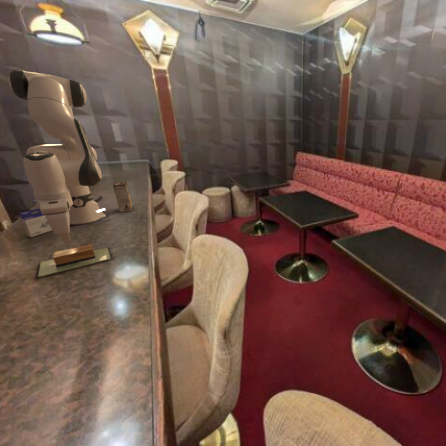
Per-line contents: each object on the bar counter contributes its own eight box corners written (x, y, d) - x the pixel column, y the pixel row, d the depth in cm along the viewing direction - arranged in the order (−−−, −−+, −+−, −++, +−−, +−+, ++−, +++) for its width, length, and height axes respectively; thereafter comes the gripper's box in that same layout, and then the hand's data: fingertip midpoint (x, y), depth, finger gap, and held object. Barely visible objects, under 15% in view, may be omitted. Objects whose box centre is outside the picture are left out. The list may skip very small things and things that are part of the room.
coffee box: (120, 207, 152) (113, 182, 146) (132, 206, 155) (126, 181, 149) (119, 212, 145) (112, 185, 139) (132, 210, 148) (126, 184, 142)
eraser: (57, 261, 92) (53, 252, 90) (94, 253, 99) (91, 244, 97) (56, 267, 88) (53, 257, 87) (95, 258, 95) (92, 249, 94)
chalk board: (41, 263, 91) (40, 262, 91) (107, 248, 104) (107, 247, 104) (38, 277, 83) (37, 276, 83) (110, 259, 96) (110, 258, 95)
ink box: (31, 237, 110) (21, 213, 106) (27, 237, 111) (17, 213, 107) (59, 228, 121) (51, 206, 117) (55, 227, 121) (47, 205, 117)
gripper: (44, 195, 90) (56, 229, 95) (39, 211, 76) (54, 250, 81) (67, 193, 94) (78, 226, 99) (67, 207, 80) (79, 245, 85)
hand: (67, 237), depth 90 cm, fingers open, 8 cm apart
